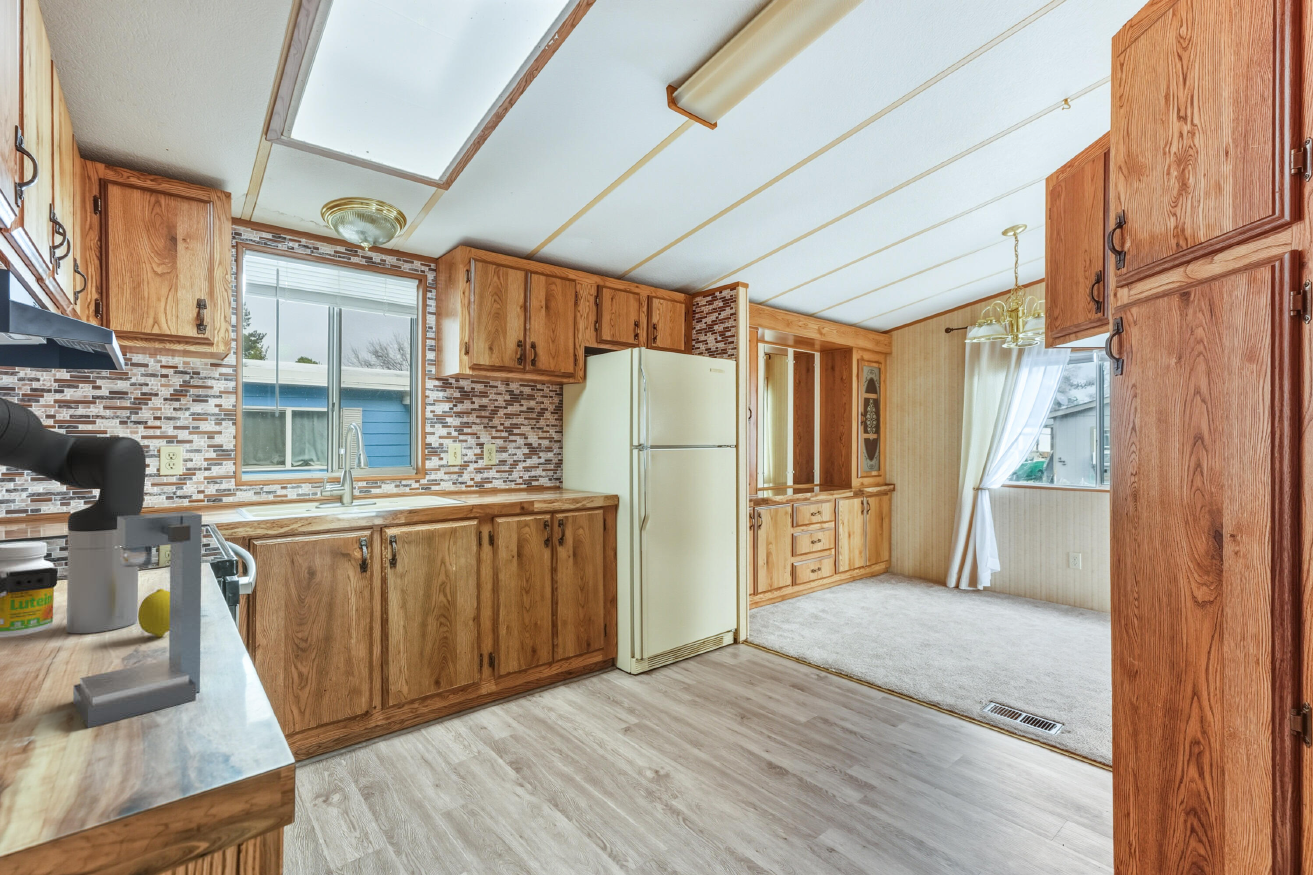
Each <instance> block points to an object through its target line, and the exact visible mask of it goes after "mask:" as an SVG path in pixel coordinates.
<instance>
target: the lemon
mask: <svg viewBox="0 0 1313 875" xmlns="http://www.w3.org/2000/svg"><path fill="white" fill-rule="evenodd" d="M137 621H138V624H139V626H140V628H141V629H142V630H143V631H144V632H146V633H148V634H150V635H154V636H155V637H156V638H161V637H164V635H165V634H166V633H168V632H169V628H170V590H169V591H168V590H165V589H164V588H160V589H159V588H158V589H157V590H156V591H154V592H152V593H150V594H148V595H147V596H146V597H145V598H144V599H143V600H142V602H141V603H140V605H139V609H138V612H137Z"/></svg>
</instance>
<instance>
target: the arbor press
mask: <svg viewBox="0 0 1313 875" xmlns="http://www.w3.org/2000/svg"><path fill="white" fill-rule="evenodd" d="M202 517H203V515H202V514H201V513H197V512H194V511H190V510H189V511H188V510H187V511H186V510H185V511H184V510H183V511H174V512H172V511H171V512H161V513H160V512H159V513H147V514H146V513H145V514H140V515H130V516H117V544H118V545H120V546H121V567H137V566H138V567H144V566H150V565H152V563H153V546H154V547H155V546H156V547H157V546H165V545H166V546H167V545H170V546H169V547H170V549H169V550H170V555H169V556H170V557H169V558H170V559H169V592H170V628H169V631H168V632H169V634H168V636H169V638H168V640H169V644H168V647H169V648H168V649H169V650H168V652H169V653H168V659H164V660H157V661H155V662H149V663H145V664H140V665H136V666H131V667H126V668H121V669H117V670H112V671H111V670H110V671H108V672H104V673H103V672H102V673H97V674H94V675H90V676H89V675H88V676H83V677H80V678H79V679H80V680H79V682H80V683H78V684H74V685H73V688H72V690H73V697H72V700H73V703H74V706H75V707H76V709H77V711H78V713H79V715H80V716H81V718H82V720H83V722H84V724H85V726H86V727H87V729H89V728H95V727H99V726H101V725H105V724H106V725H107V724H109V723H113V722H117V721H120V720H125V719H128V718H133V717H136V716H140V715H144V714H147V713H152V712H155V711H159V710H162V709H163V710H164V709H166V708H169V707H174V706H179V705H181V704H182V705H183V704H185V703H190V702H193V701H196V700H197V694H198V693H197V692H199V693H200V692H201V628H202V627H201V624H202V623H201V619H202V618H201V617H202V616H201V614H202V611H201V610H202V605H201V604H202V537H203V536H202V531H203V529H202V526H203V525H202V524H203V523H202V522H203V518H202Z"/></svg>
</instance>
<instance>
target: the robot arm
mask: <svg viewBox="0 0 1313 875" xmlns="http://www.w3.org/2000/svg"><path fill="white" fill-rule="evenodd" d="M146 461H147V459H146V453H145V450H144V448H143V445H141V443H140V442H139V441H138V440H136V439H135V438H132V437H129V436H83V435H82V436H81V435H72V434H67V433H62V432H59V431H55V430H51V429H49V428H46V427H45V425H44V424H43V422H42V421H41V419H40V417H39V416H38V415H37V414H36V413H35V412H34V411H32V410H31V409H29V408H27V407H26V406H24V405H22V404H20V403H17V402H14V401H12V400H9V399H6V398H4V397H2V396H0V466H3V467H9V468H14V469H20V470H24V471H29V472H31V473H34V474H37V475H40V476H42V477H44V478H47V479H50V480H52V481H55V482H57V483H60V484H62V485H64V486H66V487H67V486H68V487H70V488H76V489H82V490H97V489H98V490H99V492H98V494H99V495H98V498H97V500H96V501H95V502H94V503H93V504H91V505H89V506H87V507H85V508H83V509H79V510H76V511H74V512H72V513H70V514H69V516H68V518H67V584H66V585H67V586H66V587H67V588H66V589H67V590H66V595H67V596H66V599H67V600H66V632H68V633H71V634H90V633H91V634H92V633H98V632H101V633H102V632H106V631H111V630H116V629H120V628H125V627H128V626H131V625H134V624H136V623H137V622H138V613H139V609H138V606H139V605H138V599H139V566H137V567H121V546H120V545H118V544H117V516H130V515H141V513H142V511H143V506H144V500H145V498H144V496H145V484H146V483H145V482H146V473H147V472H146V471H147V462H146ZM57 584H58V570H57V569H56V568H55V567H54V568H42V569H32V570H22V571H12V572H9V576H8V572H4V571H0V597H3V596H5V595H8V591H9V593H14V592H23V591H31V590H39V589H48V588H53V587H54V588H55V587H56V586H57Z"/></svg>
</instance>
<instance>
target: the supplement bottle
mask: <svg viewBox="0 0 1313 875" xmlns="http://www.w3.org/2000/svg"><path fill="white" fill-rule="evenodd" d="M47 546H48V544H47V543H46V542H41V541H27V542H26V541H25V542H24V541H23V542H14V543H13V542H12V543H6V544H0V571H4V572H8V576H9V572H12V571H22V570H32V569H42V568H55V564H54V563H53V562H52V561H49V560H45V559H44V558H45V556H47V552H48V551H47V550H48V548H47ZM54 589H55V587H53V588H48V589H39V590H31V591H23V592H14V593H9V591H8V595H5V596H3V597H0V638H6V637H7V638H8V637H18V636H23V635H25V636H26V635H29V634H35V633H38V632H41V631H45V630H47V629H49V628H51V627H52V626H53V623H54V622H53V620H54V596H55V593H54V592H55V590H54Z"/></svg>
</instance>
